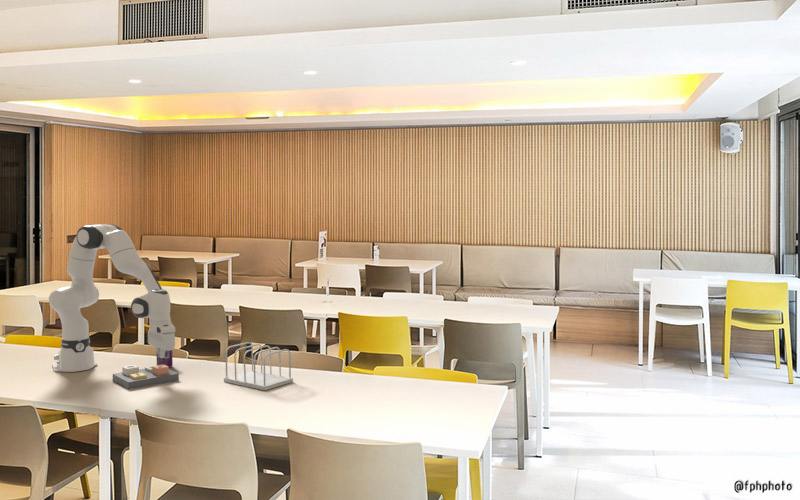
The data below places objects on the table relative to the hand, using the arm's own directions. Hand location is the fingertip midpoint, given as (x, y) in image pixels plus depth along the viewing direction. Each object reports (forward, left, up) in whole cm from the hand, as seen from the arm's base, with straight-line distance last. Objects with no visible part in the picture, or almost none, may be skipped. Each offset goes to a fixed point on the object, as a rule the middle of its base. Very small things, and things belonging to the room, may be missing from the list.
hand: (161, 357), depth 297 cm
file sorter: (+30, +31, -11) cm, 44 cm away
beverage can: (-21, +11, -10) cm, 26 cm away
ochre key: (0, -10, -9) cm, 14 cm away
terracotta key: (0, 0, -7) cm, 7 cm away
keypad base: (-4, -5, -10) cm, 12 cm away
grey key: (-8, -10, -7) cm, 15 cm away
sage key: (-8, 0, -9) cm, 12 cm away
